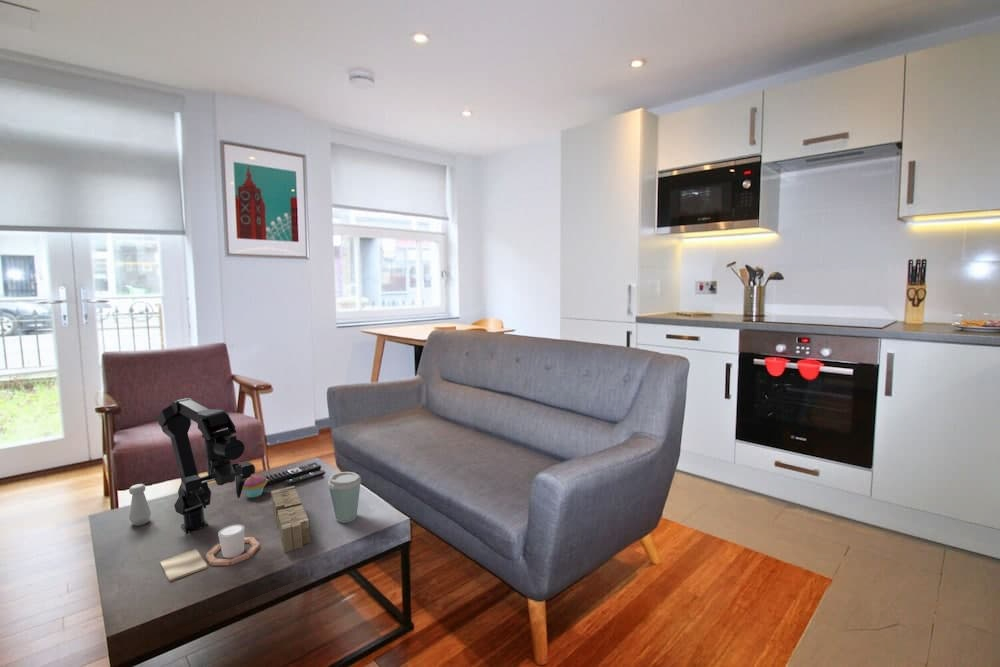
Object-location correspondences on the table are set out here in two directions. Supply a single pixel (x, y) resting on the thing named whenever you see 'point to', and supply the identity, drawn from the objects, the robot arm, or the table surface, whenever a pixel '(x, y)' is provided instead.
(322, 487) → the table surface
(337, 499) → the disposable coffee cup
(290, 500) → the block tower
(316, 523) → the table surface
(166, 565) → the beige flat pad
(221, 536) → the white cylinder
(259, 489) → the cupcake
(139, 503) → the salt shaker
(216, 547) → the ring coaster
